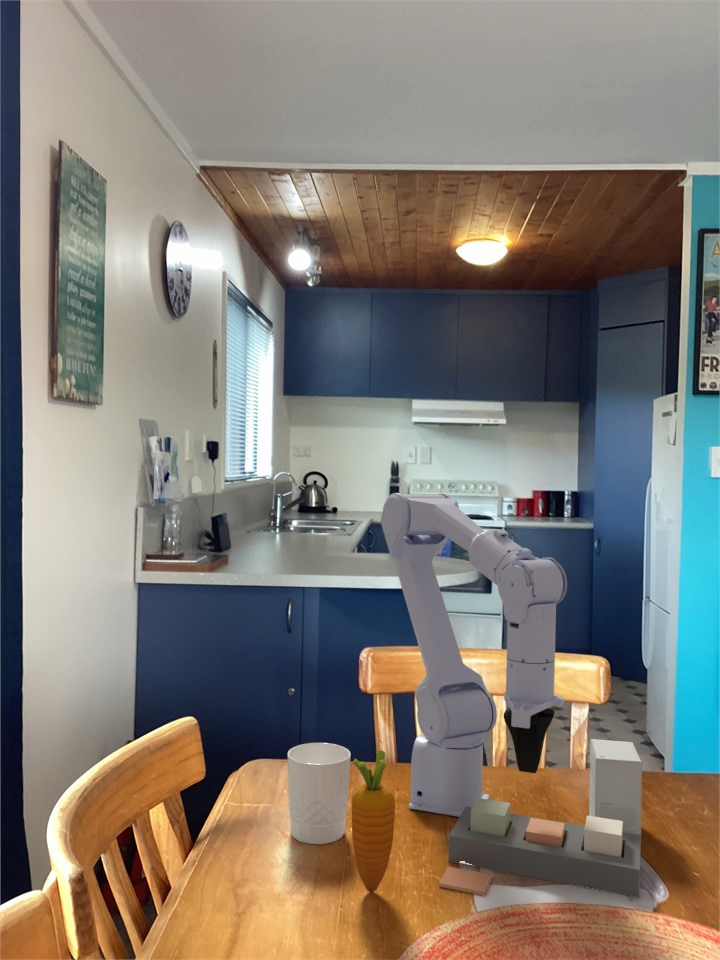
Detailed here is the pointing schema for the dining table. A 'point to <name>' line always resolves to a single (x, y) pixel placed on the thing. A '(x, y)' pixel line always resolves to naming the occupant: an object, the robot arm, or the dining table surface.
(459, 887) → the tile
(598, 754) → the small box
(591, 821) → the key cream
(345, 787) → the white cup
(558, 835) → the key terracotta
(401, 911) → the dining table surface
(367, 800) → the carrot
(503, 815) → the key sage
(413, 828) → the dining table surface
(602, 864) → the keypad
